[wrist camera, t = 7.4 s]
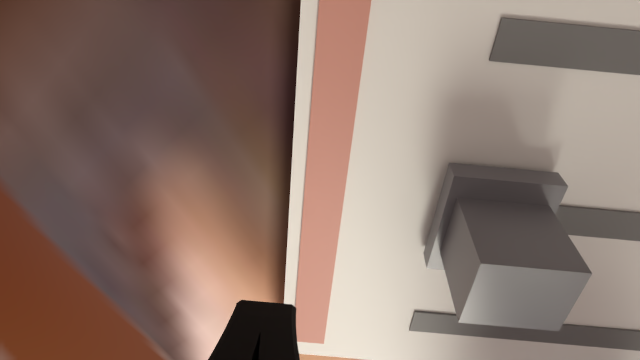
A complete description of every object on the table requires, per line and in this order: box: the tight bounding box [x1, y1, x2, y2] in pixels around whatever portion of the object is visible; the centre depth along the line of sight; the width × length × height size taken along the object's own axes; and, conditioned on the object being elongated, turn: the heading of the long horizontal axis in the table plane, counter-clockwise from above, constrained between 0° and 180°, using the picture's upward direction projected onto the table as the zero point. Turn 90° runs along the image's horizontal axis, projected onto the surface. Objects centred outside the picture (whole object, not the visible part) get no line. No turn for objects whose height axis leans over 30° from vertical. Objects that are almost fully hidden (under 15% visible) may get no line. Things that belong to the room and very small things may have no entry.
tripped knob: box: [423, 163, 592, 331], centre depth 14 cm, size 4×4×4 cm
